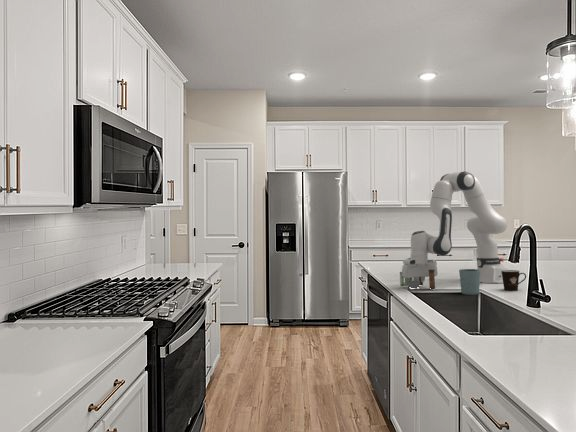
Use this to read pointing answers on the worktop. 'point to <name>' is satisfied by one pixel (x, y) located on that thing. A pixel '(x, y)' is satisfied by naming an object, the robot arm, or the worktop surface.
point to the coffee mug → (511, 279)
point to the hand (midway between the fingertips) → (420, 285)
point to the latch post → (431, 278)
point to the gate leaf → (405, 280)
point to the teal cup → (469, 281)
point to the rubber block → (413, 284)
